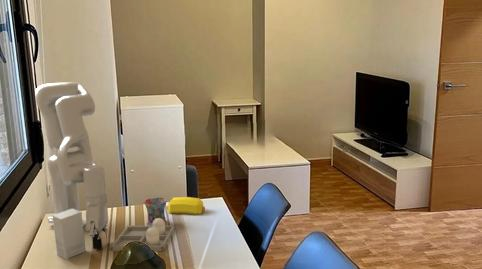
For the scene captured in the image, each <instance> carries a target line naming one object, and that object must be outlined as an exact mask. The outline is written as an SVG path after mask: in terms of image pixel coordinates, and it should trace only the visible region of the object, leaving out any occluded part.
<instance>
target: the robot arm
mask: <svg viewBox="0 0 482 269" xmlns="http://www.w3.org/2000/svg"><path fill="white" fill-rule="evenodd" d="M34 95H35V102H36V104H37V108H38V109H39V111H40V113H41V116H42V118H43V123H44V128H45V134H46V140H47V143H48V147H49V148H50V149H51V150H53V151H57V153H56V154H53V155H52V156H50V157H49V158H48V160H47V168H48V172H49V175H50V178H51V184H52V190H53V192H52V193H53V201H54V210H55V214H58V213H61V212H64V211H67V210H69V209H75V210H77V211H80V212H81V206H80V197H79V187H78V185H79V184H83V189H84V190H83V191H84V201H85V205H86V206H85V207H86V209H85V220H84V219H82V223H83V228H84V227H85V226H86V227H85V228H86V232H88V233H89V236H90V237H91V240H92V249H93V250H94V249H97V250H103V249H102V241H101V238H100V231H101V230H102V231H104V232H105V233H106V237H107V238H108V233H107V232H108V229H107V226H108V223H109V212H108V206H107V203H108V196H107V194H108V193H107V187H106V186H107V185H106V174H105V173H106V172H105V168H104V166H103V165H100V164H99V163H98V162H97V161H95V160H93V155H92V147H91V142H90V138H89V132H88V130H87V128H86V126H85V123H84V118H83V117H87V116H91V115H93V114H94V113H95V112H96V105H95V101H94V98H93V97H92V95H91V94H90V93H89V92H88V90H87V89H86V88H85V87H84V85H82V83H80V82H78V81H67V82H64V81H63V82H54V83H53V82H51V83H45V84H41V85H39V86H37V88H36V89H35V93H34ZM73 148H76V150H73V151H72V150H71V151H69V149H73ZM47 221H48V222H47V223H48V224H54V223H53V216H48V217H47ZM52 227H53V228H52V229H53V230H54V225H53V226H52ZM95 232H98V235H97V234H95ZM108 241H109V240H107V243H108Z"/></svg>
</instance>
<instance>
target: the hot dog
mask: <svg viewBox="0 0 482 269" xmlns="http://www.w3.org/2000/svg"><path fill="white" fill-rule="evenodd" d="M166 210H167V212H168V213H169V214H175V215H176V214H177V215H178V214H187V215H198V216H199V215H201V214H202V213H204V212H205V211H206V207H205V205H204V202H203V200H201V198H198V197H191V196H179V197H175V196H174V197H172V199H170V201H169V202H168V205H166Z"/></svg>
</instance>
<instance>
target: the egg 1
mask: <svg viewBox="0 0 482 269" xmlns="http://www.w3.org/2000/svg"><path fill="white" fill-rule="evenodd" d="M95 234H97V235H98V232H95ZM100 238H101V241H102V249H101V250H103V249H105V248H107V247H108V242H107V241H108V236H107V237H106V233H105V232H104V231H102V230H101V231H100ZM93 250H95V251H97V250H98V249H93Z"/></svg>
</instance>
